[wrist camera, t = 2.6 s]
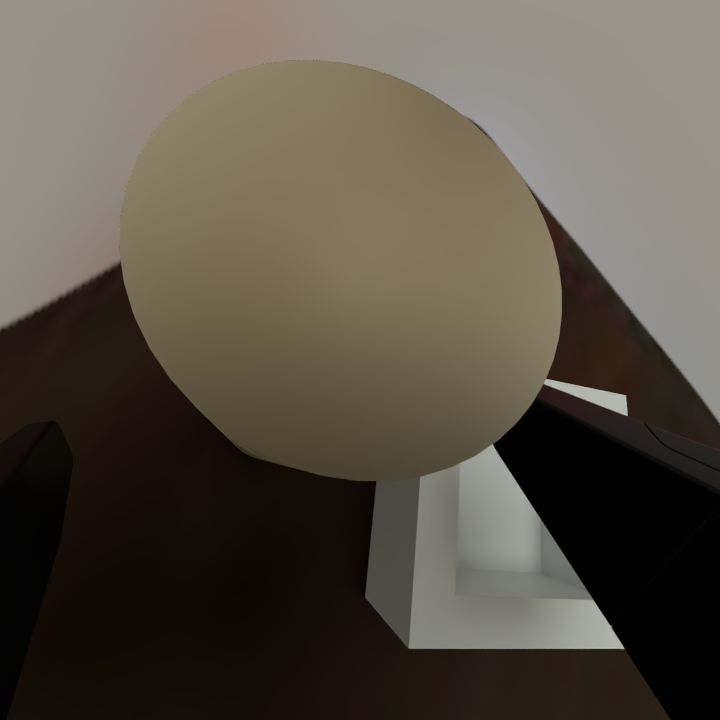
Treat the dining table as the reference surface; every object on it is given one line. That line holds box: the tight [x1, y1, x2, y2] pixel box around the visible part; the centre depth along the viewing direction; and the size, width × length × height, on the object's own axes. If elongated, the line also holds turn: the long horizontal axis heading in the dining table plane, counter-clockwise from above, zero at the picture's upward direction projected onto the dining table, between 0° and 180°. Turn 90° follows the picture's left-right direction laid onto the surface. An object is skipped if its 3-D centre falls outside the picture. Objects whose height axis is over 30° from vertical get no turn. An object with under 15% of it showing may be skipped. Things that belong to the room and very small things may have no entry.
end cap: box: [365, 379, 627, 649], centre depth 16 cm, size 9×9×4 cm
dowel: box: [119, 60, 562, 481], centre depth 10 cm, size 4×4×14 cm
